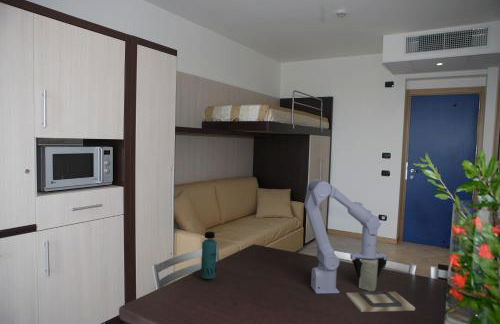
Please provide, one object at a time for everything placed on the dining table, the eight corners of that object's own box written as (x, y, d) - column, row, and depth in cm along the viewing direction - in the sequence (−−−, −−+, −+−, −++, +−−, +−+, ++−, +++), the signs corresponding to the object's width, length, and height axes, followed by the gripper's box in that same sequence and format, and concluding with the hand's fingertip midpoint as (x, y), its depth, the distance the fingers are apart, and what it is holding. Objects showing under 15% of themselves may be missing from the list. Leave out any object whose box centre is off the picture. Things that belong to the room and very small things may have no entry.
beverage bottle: (197, 280, 140) (198, 233, 139) (205, 275, 146) (206, 229, 145) (211, 283, 137) (212, 235, 136) (219, 277, 143) (220, 231, 142)
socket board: (361, 311, 117) (361, 306, 117) (346, 295, 130) (346, 290, 130) (415, 310, 119) (415, 304, 119) (395, 294, 132) (395, 289, 132)
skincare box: (376, 287, 137) (379, 259, 135) (373, 292, 133) (376, 263, 131) (360, 283, 140) (363, 255, 138) (357, 287, 136) (360, 259, 135)
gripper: (381, 240, 141) (379, 272, 141) (347, 240, 139) (346, 273, 140) (390, 245, 134) (388, 279, 134) (355, 246, 132) (353, 280, 133)
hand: (367, 276), depth 137 cm, fingers closed on skincare box, 7 cm apart
